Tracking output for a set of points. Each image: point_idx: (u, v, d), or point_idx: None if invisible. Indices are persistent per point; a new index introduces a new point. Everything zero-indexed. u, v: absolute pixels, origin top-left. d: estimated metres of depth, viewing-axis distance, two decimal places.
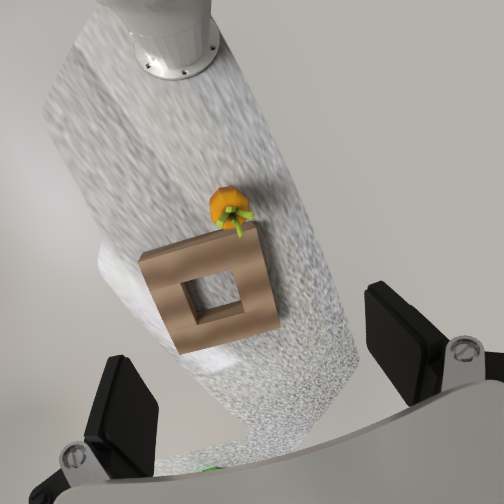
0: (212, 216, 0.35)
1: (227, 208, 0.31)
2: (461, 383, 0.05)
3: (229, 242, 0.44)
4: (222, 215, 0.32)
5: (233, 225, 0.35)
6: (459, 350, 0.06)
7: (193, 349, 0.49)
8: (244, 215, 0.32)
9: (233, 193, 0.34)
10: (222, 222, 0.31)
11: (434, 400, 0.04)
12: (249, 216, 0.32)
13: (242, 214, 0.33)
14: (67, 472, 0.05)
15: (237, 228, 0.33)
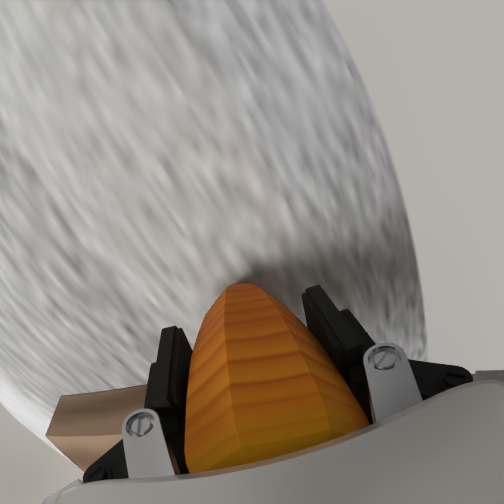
0: None
1: None
2: (370, 391, 0.06)
3: None
4: None
5: None
6: (378, 359, 0.07)
7: None
8: None
9: (317, 439, 0.05)
10: None
11: (434, 400, 0.04)
12: None
13: None
14: (134, 441, 0.06)
15: None
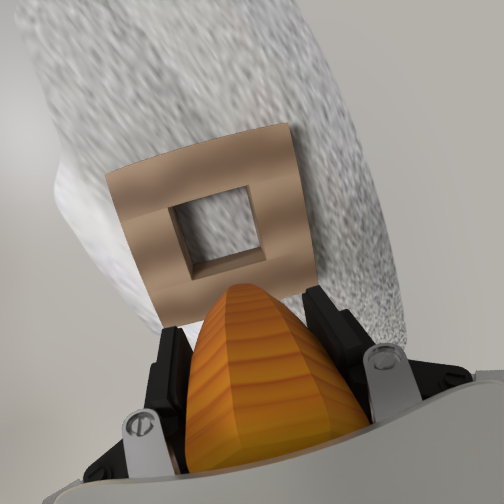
0: None
1: None
2: (370, 391, 0.06)
3: (247, 142, 0.27)
4: None
5: None
6: (378, 359, 0.07)
7: (185, 321, 0.33)
8: None
9: (318, 440, 0.05)
10: None
11: (434, 400, 0.04)
12: None
13: None
14: (134, 441, 0.06)
15: None
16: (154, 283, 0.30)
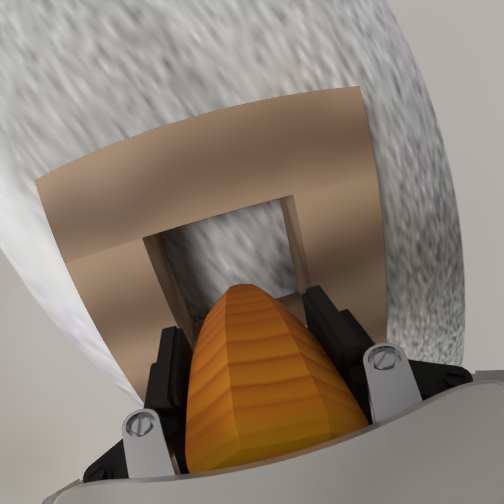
0: None
1: None
2: (370, 391, 0.06)
3: (291, 114, 0.14)
4: None
5: None
6: (378, 359, 0.07)
7: None
8: None
9: (317, 442, 0.05)
10: None
11: (434, 400, 0.04)
12: None
13: None
14: (134, 441, 0.06)
15: None
16: (131, 359, 0.17)
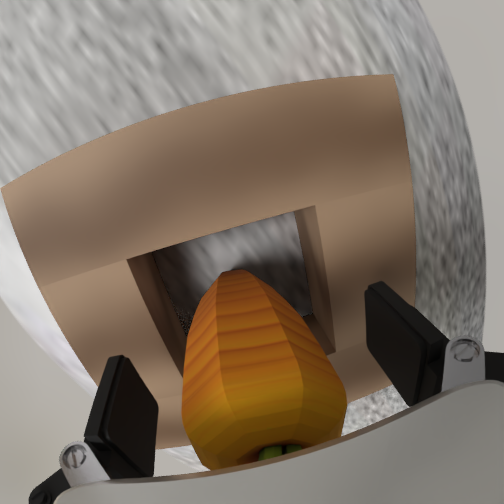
0: (200, 457, 0.07)
1: None
2: (461, 383, 0.05)
3: (313, 105, 0.11)
4: None
5: None
6: (459, 350, 0.06)
7: (184, 442, 0.16)
8: None
9: (292, 395, 0.06)
10: None
11: (434, 400, 0.04)
12: None
13: None
14: (67, 472, 0.05)
15: None
16: None
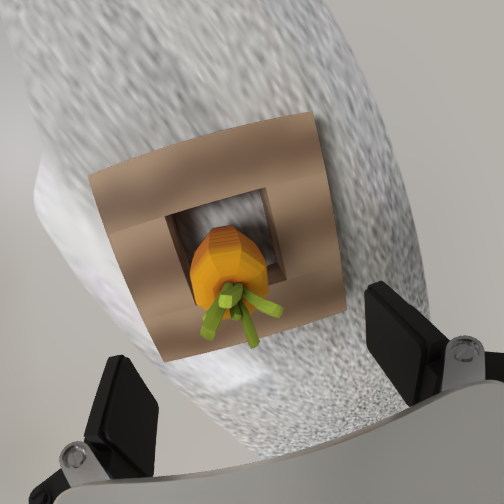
0: (196, 297, 0.18)
1: (222, 299, 0.14)
2: (461, 383, 0.05)
3: (263, 134, 0.21)
4: (213, 312, 0.14)
5: None
6: (459, 350, 0.06)
7: (189, 353, 0.27)
8: (260, 309, 0.15)
9: (236, 253, 0.17)
10: (213, 331, 0.14)
11: (434, 400, 0.04)
12: (271, 313, 0.14)
13: (256, 305, 0.15)
14: (67, 472, 0.05)
15: (246, 331, 0.16)
16: (150, 309, 0.25)
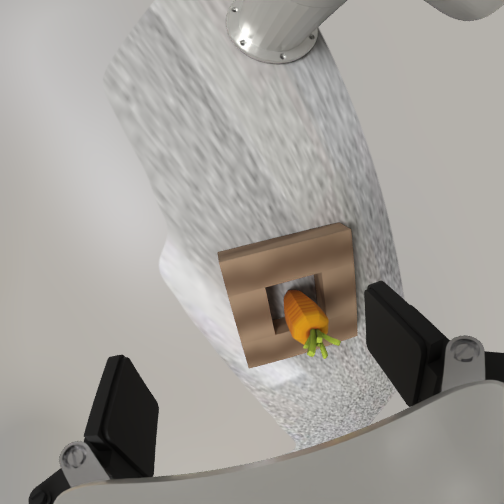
0: (295, 335, 0.35)
1: (318, 339, 0.32)
2: (461, 383, 0.05)
3: (323, 243, 0.40)
4: (312, 344, 0.32)
5: None
6: (459, 350, 0.06)
7: (265, 362, 0.44)
8: (331, 342, 0.33)
9: (317, 315, 0.35)
10: (314, 353, 0.32)
11: (434, 400, 0.04)
12: (336, 344, 0.32)
13: (328, 340, 0.33)
14: (67, 472, 0.05)
15: (322, 351, 0.33)
16: (247, 337, 0.42)
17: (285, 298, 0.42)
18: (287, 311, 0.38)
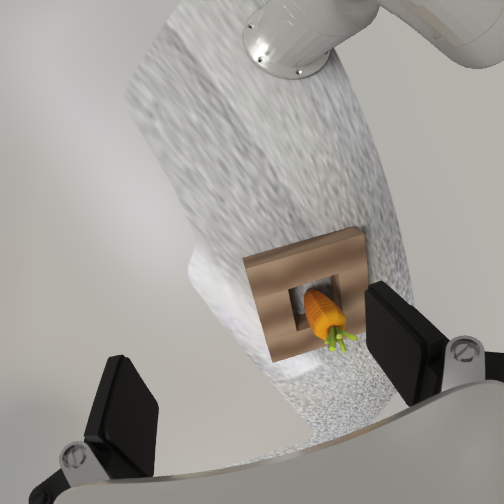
0: (316, 332, 0.39)
1: (338, 336, 0.35)
2: (461, 383, 0.05)
3: (340, 247, 0.43)
4: (333, 340, 0.36)
5: None
6: (459, 350, 0.06)
7: (288, 356, 0.48)
8: (349, 337, 0.36)
9: (336, 314, 0.38)
10: (334, 348, 0.35)
11: (434, 400, 0.04)
12: (354, 339, 0.36)
13: (347, 336, 0.37)
14: (67, 472, 0.05)
15: (341, 346, 0.37)
16: (272, 334, 0.46)
17: (305, 298, 0.45)
18: (308, 310, 0.42)
